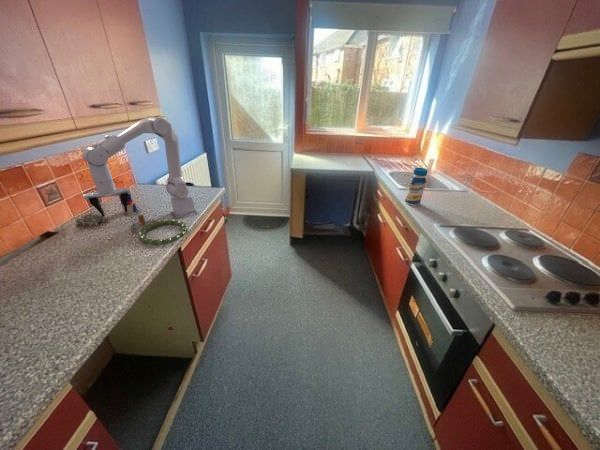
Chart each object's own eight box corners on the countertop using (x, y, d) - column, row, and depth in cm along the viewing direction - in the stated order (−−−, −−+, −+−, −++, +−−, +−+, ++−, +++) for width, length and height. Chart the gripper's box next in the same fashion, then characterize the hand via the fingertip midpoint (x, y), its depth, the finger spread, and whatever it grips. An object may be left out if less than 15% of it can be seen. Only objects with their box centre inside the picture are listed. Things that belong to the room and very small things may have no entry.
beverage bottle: (421, 202, 145) (430, 168, 135) (418, 207, 138) (428, 172, 129) (406, 199, 148) (414, 166, 139) (402, 203, 142) (411, 169, 133)
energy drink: (131, 216, 118) (124, 192, 112) (122, 215, 119) (114, 191, 113) (140, 211, 123) (133, 188, 117) (131, 210, 123) (123, 187, 118)
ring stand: (153, 221, 114) (150, 210, 112) (155, 228, 108) (151, 217, 106) (132, 225, 110) (129, 214, 108) (133, 233, 105) (129, 221, 102)
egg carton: (74, 225, 109) (70, 217, 107) (91, 218, 115) (88, 210, 113) (93, 229, 106) (89, 221, 104) (109, 222, 112) (106, 213, 110)
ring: (183, 220, 115) (182, 215, 114) (192, 239, 102) (191, 234, 101) (137, 228, 106) (135, 224, 105) (140, 251, 93) (139, 246, 91)
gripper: (77, 186, 87) (91, 221, 93) (126, 180, 94) (136, 213, 100) (79, 181, 92) (93, 214, 98) (126, 175, 99) (135, 206, 105)
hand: (115, 213), depth 100 cm, fingers open, 7 cm apart
